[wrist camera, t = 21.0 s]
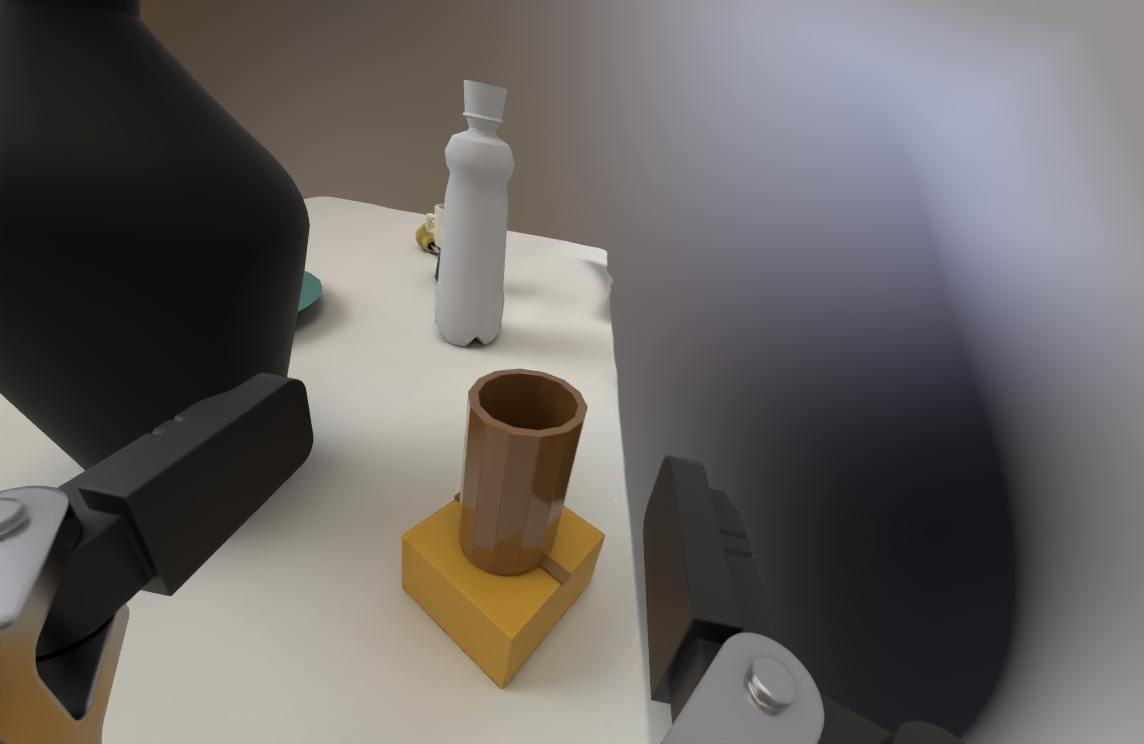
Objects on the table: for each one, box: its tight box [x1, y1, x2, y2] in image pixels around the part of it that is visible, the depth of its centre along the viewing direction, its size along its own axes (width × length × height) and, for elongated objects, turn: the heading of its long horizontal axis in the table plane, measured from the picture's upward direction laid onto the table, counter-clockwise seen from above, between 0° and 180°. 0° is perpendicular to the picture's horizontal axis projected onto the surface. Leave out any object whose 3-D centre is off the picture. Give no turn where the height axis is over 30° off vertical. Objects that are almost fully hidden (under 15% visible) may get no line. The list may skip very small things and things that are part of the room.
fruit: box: [416, 223, 441, 254], centre depth 91 cm, size 6×6×10 cm
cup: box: [458, 369, 587, 574], centre depth 24 cm, size 6×6×10 cm
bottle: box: [434, 80, 515, 346], centre depth 54 cm, size 9×9×30 cm
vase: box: [0, 0, 310, 471], centre depth 24 cm, size 17×17×35 cm
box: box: [402, 492, 605, 689], centre depth 28 cm, size 9×9×5 cm
